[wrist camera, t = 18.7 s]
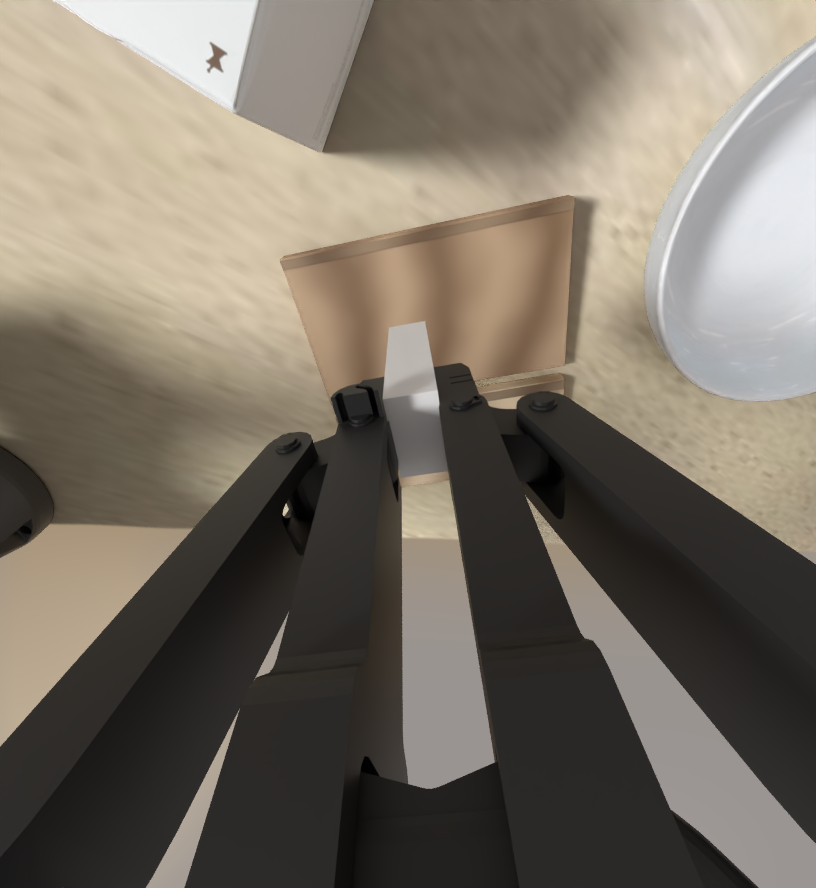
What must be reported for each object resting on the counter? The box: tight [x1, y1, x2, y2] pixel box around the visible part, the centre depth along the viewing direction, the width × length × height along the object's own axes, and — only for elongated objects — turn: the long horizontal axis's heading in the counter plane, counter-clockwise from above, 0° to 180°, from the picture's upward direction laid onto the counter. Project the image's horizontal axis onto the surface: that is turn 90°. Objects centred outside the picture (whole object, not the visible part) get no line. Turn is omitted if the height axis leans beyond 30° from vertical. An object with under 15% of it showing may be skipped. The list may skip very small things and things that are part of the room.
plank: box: [280, 195, 575, 405], centre depth 30 cm, size 20×12×1 cm, turn 101°
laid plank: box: [336, 373, 565, 487], centre depth 37 cm, size 20×9×1 cm, turn 101°
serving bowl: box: [644, 36, 816, 401], centre depth 25 cm, size 21×21×7 cm
